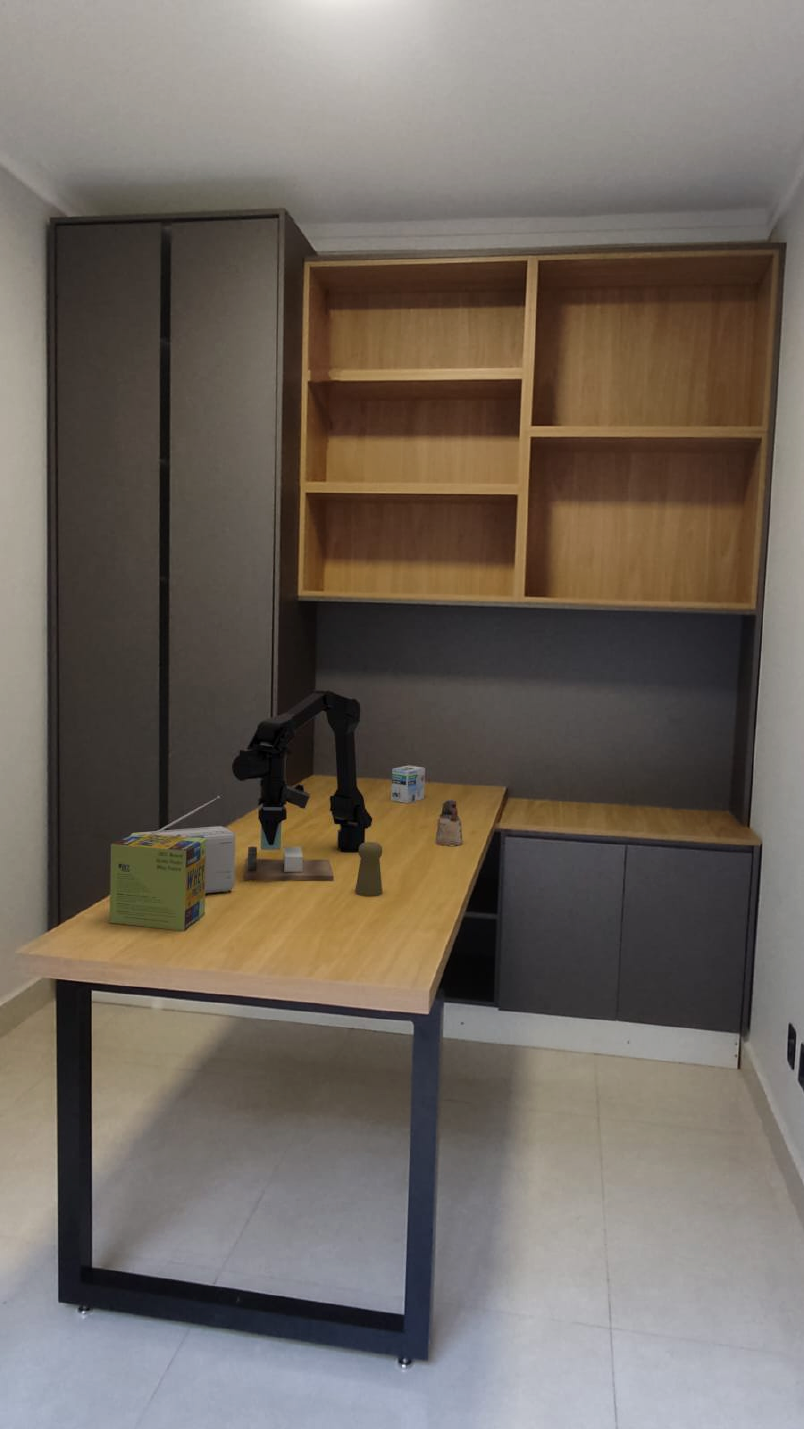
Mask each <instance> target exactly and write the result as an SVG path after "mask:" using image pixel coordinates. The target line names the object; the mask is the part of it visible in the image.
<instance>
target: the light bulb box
mask: <svg viewBox="0 0 804 1429" xmlns="http://www.w3.org/2000/svg"><path fill="white" fill-rule="evenodd" d="M425 776H426V767H424V766H423V767H421V766H415V765H409V764H408V765H406V766H399V767H395V768H392V770H391V794H390V796H391V797H390V800H391V801H393V802H399V803H402V804H403V803H404V804H409V803H414V802H418V801H422V799H423V800H424V798H425V797H424V796H425V781H426V780H425V779H426V777H425Z"/></svg>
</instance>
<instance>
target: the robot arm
mask: <svg viewBox="0 0 804 1429" xmlns="http://www.w3.org/2000/svg"><path fill="white" fill-rule="evenodd" d="M322 712H324V713H325V714H326V715H325V716H326V721H327V724H328V725H329V727H330V729H331V730H332V732H333V735H334V748H335V750H334V751H335V765H336V766H335V768H336V769H335V771H336V785H337V786H336V790H335V791H334V793H333V794H332V795H330V796H329V803H330V804H329V805H330V806H329V807H330V808H329V811H330V812H331V816H332V820H333V823H334V825H339V829H337V832H336V833H337V834H336V835H337V836H336V838H337V839H336V842H337V843H336V846H337V848H338V849H339V852H354V853H355V852H358V853H359V846H360V845H361V844H362V843H365V841H366V839H365V838H366V830H367V829H369V828H371V827H372V823H373V817H372V816H371V815H370V813H369V811H368V810H367V809H366V804H365V799H364V796H363V793H361V791H360V789H359V788H358V781H357V779H358V778H357V765H356V764H357V763H356V762H357V761H356V742H355V732H356V729H357V728H358V726H359V723H361V704H360V701H358V700H357V699H356V698H351V697H345V696H342V695H339V694H338V693H335V692H334V691H332V690H330V689H329V690H328V689H320V688H319V689H318V688H317V689H315V690H313V691H312V692H311V694H310V695H308V696H307V697H305V698H304V699H302V700H301V701H300V702H298V703H297V704H295V705H294V706H293V707H291V708H290V709H287V711H286V712H284V713H282V714H279V715H275V716H271V717H268V718H266V719H263V720H262V721H260V723H258V725H257V728H256V730H255V732H254V734H253V736H252V737H251V740H250V742H249V744H248V746H247V747H246V749H239V753H238V754H239V755H237V756H236V757H235V758H234V759H233V762H232V765H231V770H232V773H233V776H234V777H235V779H237V780H238V781H240V782H243V781H250V780H255V779H256V780H257V779H259V794H258V796H257V798H258V799H257V800H258V801H257V805H258V806H259V807H258V808H257V809H258V815H257V816H258V817H257V818H258V821H259V823H260V826H261V825H262V828H263V831H264V833H265V836H266V839H267V841H268V844H269V845H274V841H275V837H276V833H277V829H278V825H279V823H280V822H281V823H282V821H285V820H287V813H288V811H287V808H286V805H287V803H289V804H291V805H294V806H297V807H298V808H300V809H303V810H305V809H306V807H307V804H308V802H309V799H310V793H309V792H308V791H305V788H304V785H303V784H301V783H296V784H295V785H294V786H293V785H291V786H290V785H288V782H287V779H286V769H287V768H286V762H287V760H286V759H287V756H291V755H292V754H293V751H292V750H291V749H289V747H288V745H289V744H290V743H291V742H292V741H293V740H294V739H295V737H296V734H297V731H298V730H299V729H300V728H302V727H303V726H304V725H305V724H307V723H309V722H310V720H312V719H314V718H315V717H316V716H318V715H319V714H320V713H322Z"/></svg>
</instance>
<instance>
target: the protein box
mask: <svg viewBox="0 0 804 1429" xmlns="http://www.w3.org/2000/svg"><path fill="white" fill-rule="evenodd" d="M134 833H135V834H133V835H131V834H130V835H128V836H126V837H123V838H122V839H120V840H117V841H115V842H113V843H111V844H110V875H109V876H110V881H109V882H110V883H109V884H110V886H109V887H110V889H109V893H110V894H109V923H110V924H117V925H125V926H126V925H129V926H136V927H145V928H155V929H164V930H174V931H180V932H181V931H185V930H186V929H188V928H190V927H191V926H192V925H193V924H194V923H196V922H197V921H198V920H200V919H201V918H202V917H204V916H205V915H206V893H205V876H206V838H194V837H182V836H171V835H157V834H145V833H139V832H134Z"/></svg>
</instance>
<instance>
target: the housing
mask: <svg viewBox="0 0 804 1429" xmlns="http://www.w3.org/2000/svg"><path fill="white" fill-rule="evenodd" d="M301 847H302V846H283V858H282V859H283V862H284V872H302V860H303V858H304V857H303V852H302V848H301Z"/></svg>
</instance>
